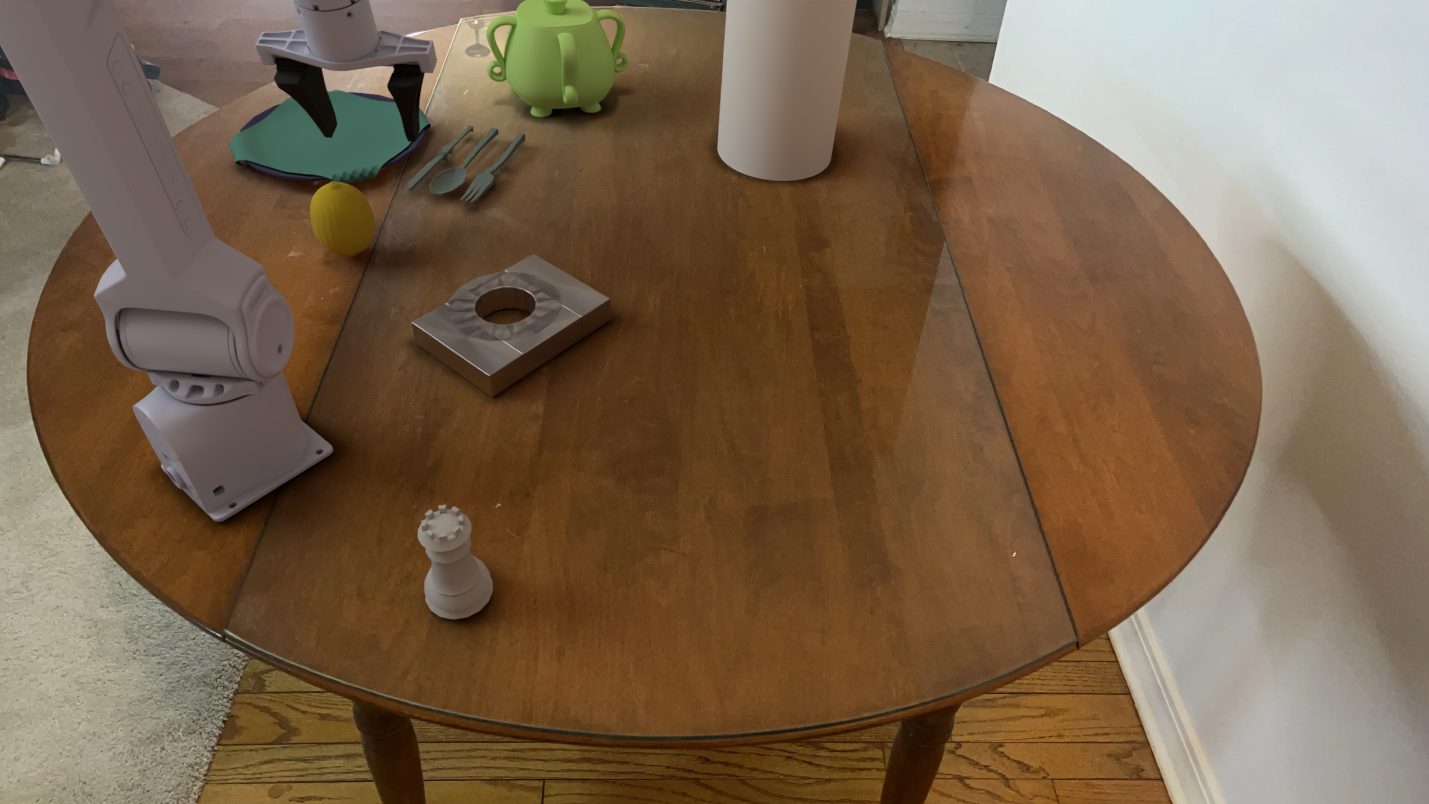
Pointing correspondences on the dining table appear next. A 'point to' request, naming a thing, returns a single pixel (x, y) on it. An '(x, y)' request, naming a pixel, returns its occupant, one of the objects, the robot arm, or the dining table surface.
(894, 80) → the dining table surface
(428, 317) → the stand
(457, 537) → the rook chess piece
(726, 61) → the canister
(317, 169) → the cutlery set
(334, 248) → the lemon
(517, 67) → the teapot
